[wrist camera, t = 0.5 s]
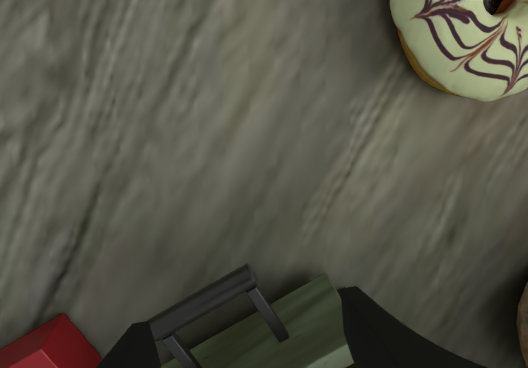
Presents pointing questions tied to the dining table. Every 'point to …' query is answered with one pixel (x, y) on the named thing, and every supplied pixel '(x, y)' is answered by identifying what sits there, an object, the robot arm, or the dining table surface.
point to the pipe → (523, 324)
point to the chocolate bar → (51, 348)
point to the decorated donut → (466, 45)
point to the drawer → (260, 327)
